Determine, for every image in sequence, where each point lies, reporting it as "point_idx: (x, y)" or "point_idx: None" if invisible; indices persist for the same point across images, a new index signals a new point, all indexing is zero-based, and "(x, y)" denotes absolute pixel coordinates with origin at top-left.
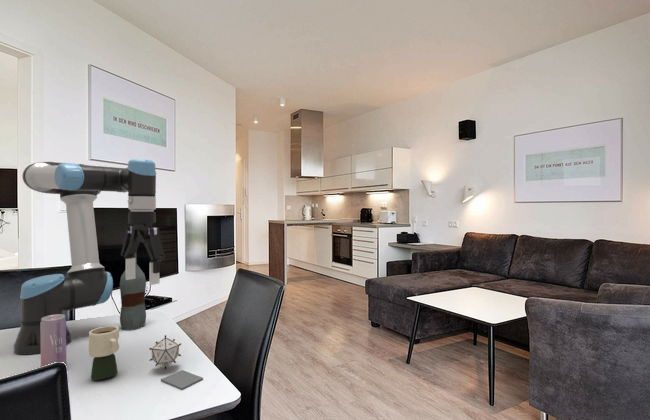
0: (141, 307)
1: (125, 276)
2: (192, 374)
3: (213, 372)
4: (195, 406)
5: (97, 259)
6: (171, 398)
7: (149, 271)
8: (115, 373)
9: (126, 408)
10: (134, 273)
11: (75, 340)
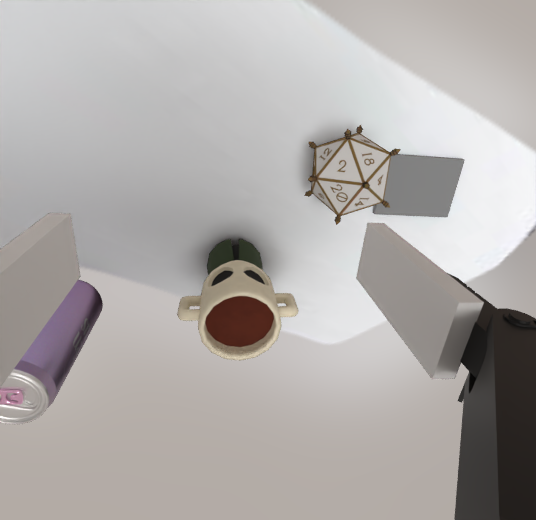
0: None
1: None
2: (429, 159)
3: (462, 113)
4: (503, 240)
5: None
6: (444, 244)
7: (394, 328)
8: (259, 253)
9: None
10: (54, 236)
11: None
